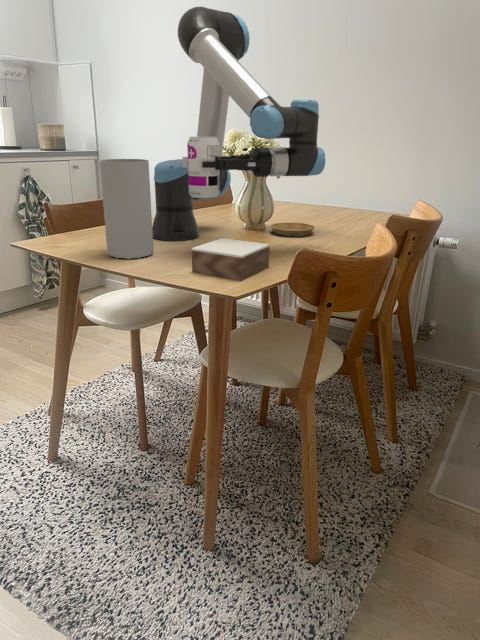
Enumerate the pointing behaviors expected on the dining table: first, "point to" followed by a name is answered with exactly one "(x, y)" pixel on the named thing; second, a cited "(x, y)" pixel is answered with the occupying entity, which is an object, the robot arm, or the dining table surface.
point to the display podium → (230, 258)
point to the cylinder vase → (127, 207)
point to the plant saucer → (292, 229)
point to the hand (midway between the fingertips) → (185, 163)
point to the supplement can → (203, 180)
